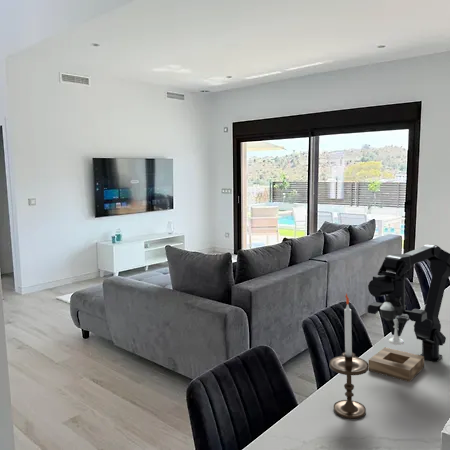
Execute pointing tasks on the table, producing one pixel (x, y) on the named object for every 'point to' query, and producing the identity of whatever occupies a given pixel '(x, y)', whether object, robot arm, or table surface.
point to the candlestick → (349, 373)
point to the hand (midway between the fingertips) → (396, 335)
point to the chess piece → (396, 334)
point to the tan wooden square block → (396, 364)
